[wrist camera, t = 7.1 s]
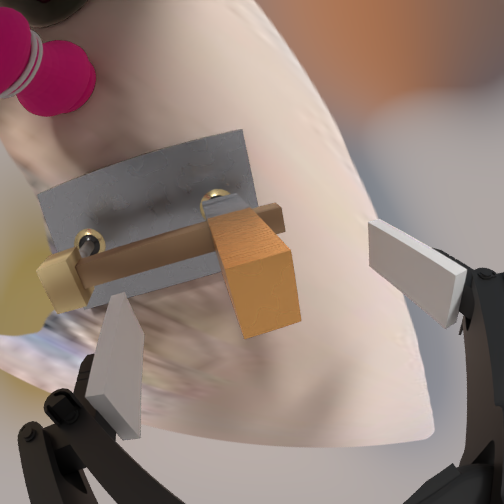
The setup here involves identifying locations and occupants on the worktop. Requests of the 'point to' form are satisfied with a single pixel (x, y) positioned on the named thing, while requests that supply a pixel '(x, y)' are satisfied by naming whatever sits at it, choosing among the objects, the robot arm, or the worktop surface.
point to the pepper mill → (41, 69)
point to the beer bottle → (44, 10)
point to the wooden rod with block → (129, 259)
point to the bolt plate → (149, 206)
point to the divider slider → (253, 266)
